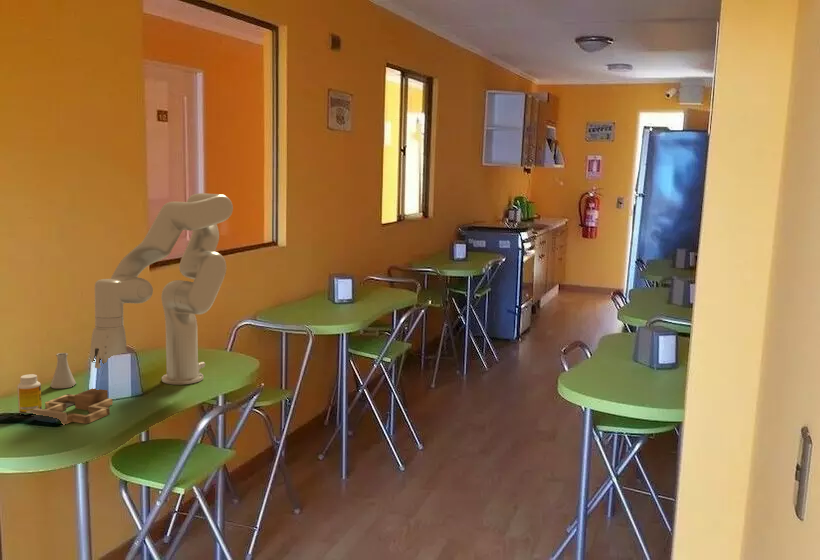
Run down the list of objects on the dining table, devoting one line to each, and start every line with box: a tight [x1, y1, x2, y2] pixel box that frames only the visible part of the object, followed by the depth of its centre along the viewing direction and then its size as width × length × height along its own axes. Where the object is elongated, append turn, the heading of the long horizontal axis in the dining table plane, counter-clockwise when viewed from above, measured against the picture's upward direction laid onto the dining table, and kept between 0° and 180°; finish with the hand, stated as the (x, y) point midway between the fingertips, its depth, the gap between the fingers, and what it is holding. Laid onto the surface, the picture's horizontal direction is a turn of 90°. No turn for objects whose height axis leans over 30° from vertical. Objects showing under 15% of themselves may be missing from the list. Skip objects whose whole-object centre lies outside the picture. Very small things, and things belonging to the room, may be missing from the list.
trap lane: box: [33, 393, 114, 426], centre depth 199 cm, size 18×19×3 cm
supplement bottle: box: [17, 373, 43, 414], centre depth 198 cm, size 6×6×10 cm
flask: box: [49, 352, 77, 389], centre depth 223 cm, size 7×7×10 cm
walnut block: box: [74, 387, 109, 411], centre depth 205 cm, size 7×5×4 cm
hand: (110, 385), depth 212 cm, fingers closed
